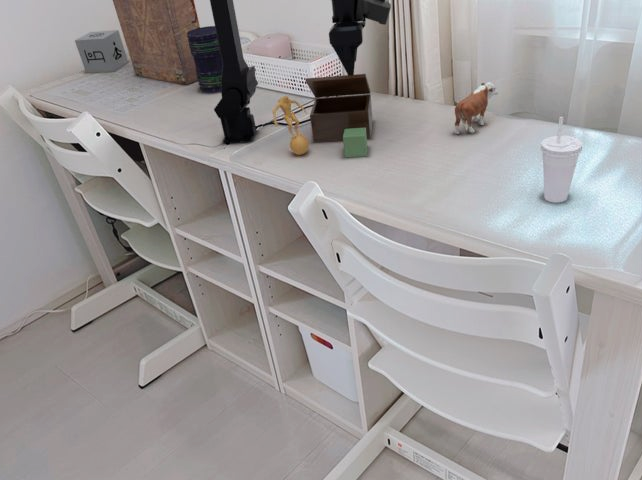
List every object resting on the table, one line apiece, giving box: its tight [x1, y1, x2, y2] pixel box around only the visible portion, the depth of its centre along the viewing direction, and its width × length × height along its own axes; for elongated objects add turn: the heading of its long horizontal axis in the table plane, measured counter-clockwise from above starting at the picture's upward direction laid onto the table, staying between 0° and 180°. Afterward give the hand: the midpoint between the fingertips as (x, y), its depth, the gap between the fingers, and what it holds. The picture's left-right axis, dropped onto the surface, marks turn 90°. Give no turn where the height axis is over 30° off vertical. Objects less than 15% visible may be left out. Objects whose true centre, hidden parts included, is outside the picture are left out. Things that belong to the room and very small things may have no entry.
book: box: [112, 0, 201, 85], centre depth 176 cm, size 25×9×30 cm, turn 52°
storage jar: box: [187, 21, 223, 94], centre depth 165 cm, size 10×10×18 cm
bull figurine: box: [454, 81, 499, 135], centre depth 128 cm, size 4×13×8 cm, turn 137°
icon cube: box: [74, 29, 129, 74], centre depth 197 cm, size 10×10×10 cm
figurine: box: [272, 95, 310, 156], centre depth 125 cm, size 8×6×12 cm
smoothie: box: [540, 116, 584, 204], centre depth 99 cm, size 6×6×14 cm
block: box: [342, 128, 368, 159], centre depth 125 cm, size 4×4×4 cm
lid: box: [305, 73, 371, 99], centre depth 130 cm, size 11×12×1 cm
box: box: [309, 93, 374, 144], centre depth 134 cm, size 10×12×6 cm
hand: (352, 68), depth 126 cm, fingers open, 9 cm apart
